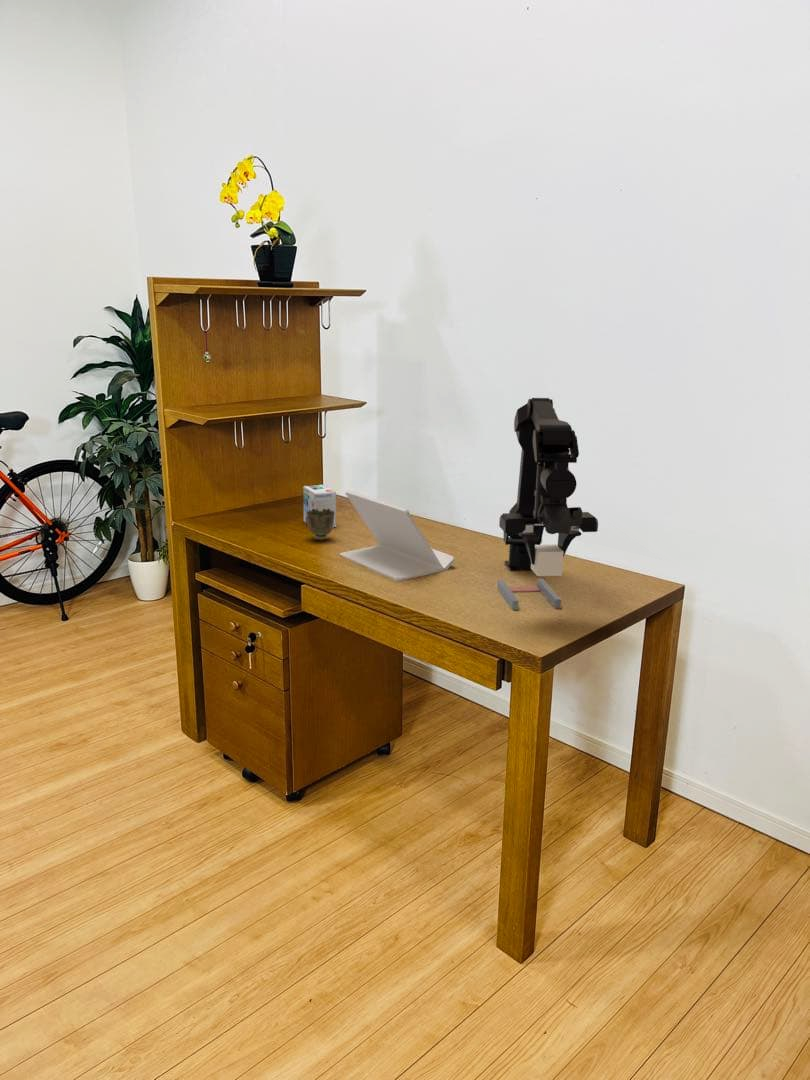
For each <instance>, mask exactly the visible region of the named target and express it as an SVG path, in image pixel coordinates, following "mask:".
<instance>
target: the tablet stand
mask: <svg viewBox="0 0 810 1080" xmlns="http://www.w3.org/2000/svg"><path fill="white" fill-rule="evenodd" d="M344 494H345V495H346V496H347V498H348V499H349V501H350V502H351V504H352V506H353V507H354V508H355V511H356V512H357V513H358V515H359V516H360V518H361V519H362V521H363V522H364V524H365V525H366V527H367V528H368V530H369V531H370V533H371V534H372V536H373V538H374V539H375V540H376V541H377V544H376V545H373V546H370V547H369V546H368V547H363V548H358V549H354V550H348V551H344V552H340V553H339V556H340V555H341V556H343V557H345V558H347V559H350V560H352V561H354V562H356V563H359V564H361V565H363V566H365V567H367V568H366V569H368V568H369V569H368V570H370V569H371V570H370V571H372V570H373V572H374V571H376V572H375V573H377V572H378V573H377V574H379V573H380V574H379V575H381V574H382V575H381V576H383V575H384V577H386V578H388V577H389V578H388V579H390V578H391V580H393V581H395V582H401V581H405V580H410V579H414V578H419V577H423V576H426V575H432V574H435V573H439V572H444V571H448V569H449V568H450V567H451V566H452V565H453V564H454V563H455V562H456V559H455V557H454V556H453V555H451V554H447V553H446V552H445V553H444V552H442V551H440V550H437V549H435V548H432V547H431V545H430V544H429V542H428V541H427V539H426V537H425V536H424V534H423V532H422V531H421V529H420V527H419V526H418V524H417V522H416V521H415V520H414V518H413V517H412V515H411V513H410V511H409V509H407V508H405V507H402V506H399V505H396V504H393V503H389V502H386V501H383V500H379V499H377V498H375V497H370V496H367V495H364V494H361V493H358V492H355V491H351V490H346V491H345V493H344ZM343 557H342V558H343ZM345 558H344V559H345ZM347 559H346V560H347ZM352 561H351V562H352ZM354 562H353V563H354ZM356 563H355V564H356ZM361 565H360V566H361ZM363 566H362V567H363ZM365 567H364V568H365Z"/></svg>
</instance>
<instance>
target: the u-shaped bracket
mask: <svg viewBox="0 0 810 1080" xmlns="http://www.w3.org/2000/svg"><path fill="white" fill-rule="evenodd" d="M497 590H498V591H499V593H500V594H501V596H502V597H503V599H505V601H506V603H507V604H508V606H509V607H510V608H511V610H512V611H517V610H519V599H518V598H517V596H516V595H515V593H523V592H524V593H525V592H526V593H527V592H528V593H529V592H530V593H531V592H541V594H542V595H543V596H544V598H546V600H547V601H548V602H549V604H551V606H552V607H553V609H555V610H556V609H561V604H562V599H561V598H560V596H559V595H558V594H557V593H556V592H555V591H554V590H553V588H552V587H551V586H550V585H549V584H548V582H546V581H545V580H544V578H537V580H536V585H520V586H516V585H513V586H508V585H507V583H506V582H505V581H504V579H497Z"/></svg>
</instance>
